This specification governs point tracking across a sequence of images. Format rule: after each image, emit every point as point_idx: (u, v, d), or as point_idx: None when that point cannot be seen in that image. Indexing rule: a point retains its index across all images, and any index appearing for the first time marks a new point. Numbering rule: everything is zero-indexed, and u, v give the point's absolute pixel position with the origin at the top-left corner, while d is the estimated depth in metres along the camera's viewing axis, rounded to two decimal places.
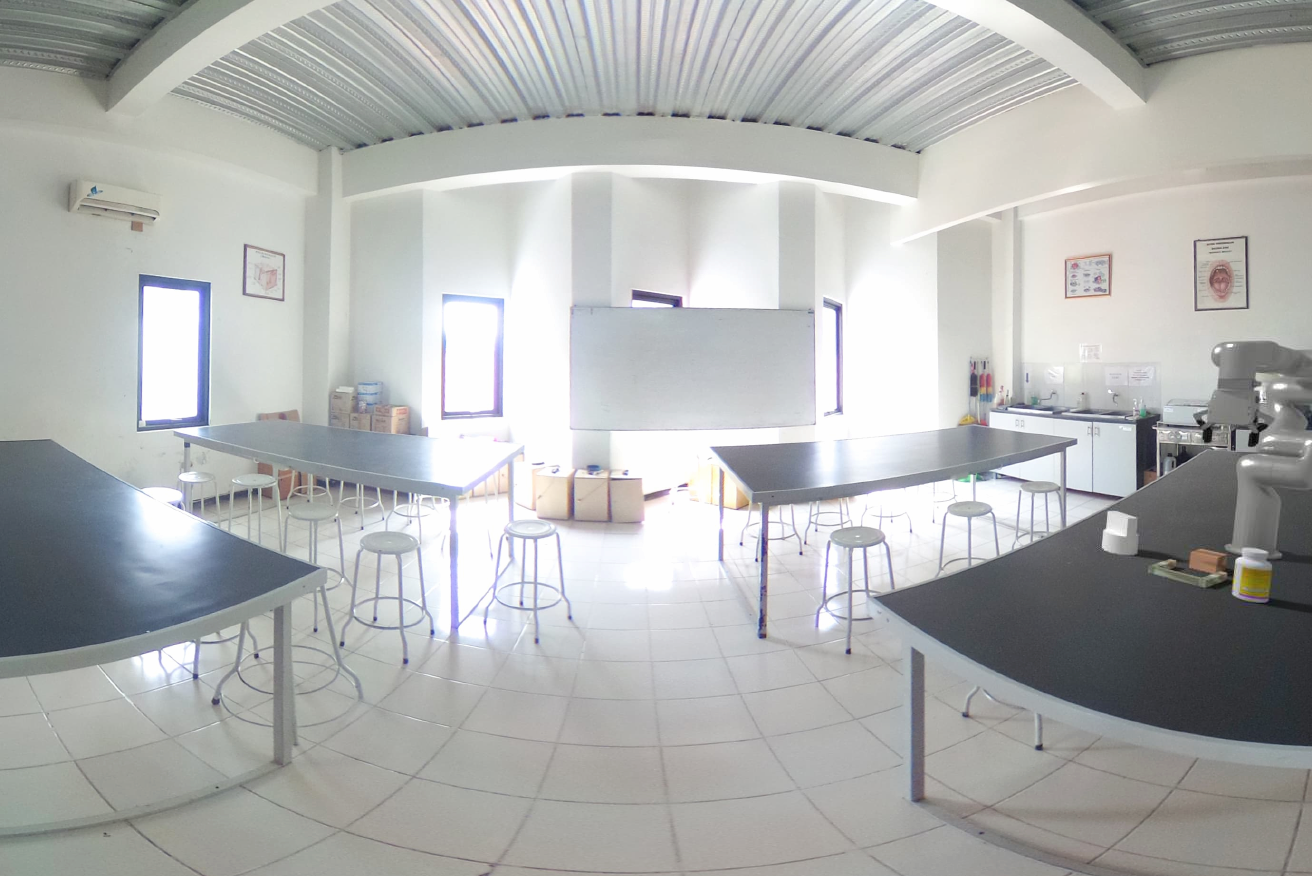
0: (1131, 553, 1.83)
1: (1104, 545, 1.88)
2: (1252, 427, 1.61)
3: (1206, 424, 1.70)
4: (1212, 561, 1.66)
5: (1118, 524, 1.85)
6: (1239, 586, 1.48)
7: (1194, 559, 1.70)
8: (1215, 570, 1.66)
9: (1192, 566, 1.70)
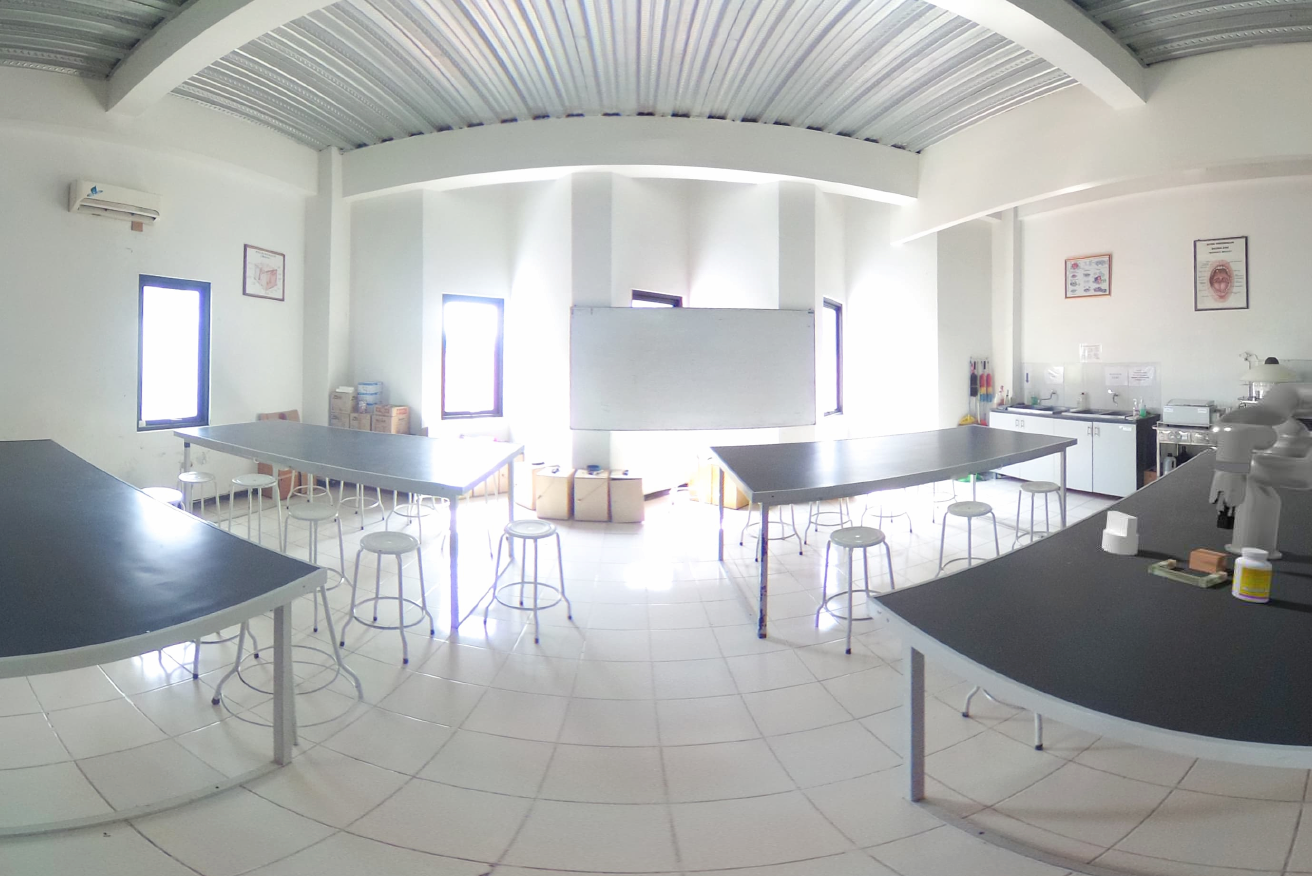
0: (1131, 553, 1.83)
1: (1104, 545, 1.88)
2: (1235, 510, 1.70)
3: (1230, 511, 1.69)
4: (1213, 561, 1.66)
5: (1118, 524, 1.85)
6: (1239, 586, 1.48)
7: (1194, 559, 1.70)
8: (1215, 570, 1.66)
9: (1192, 566, 1.70)
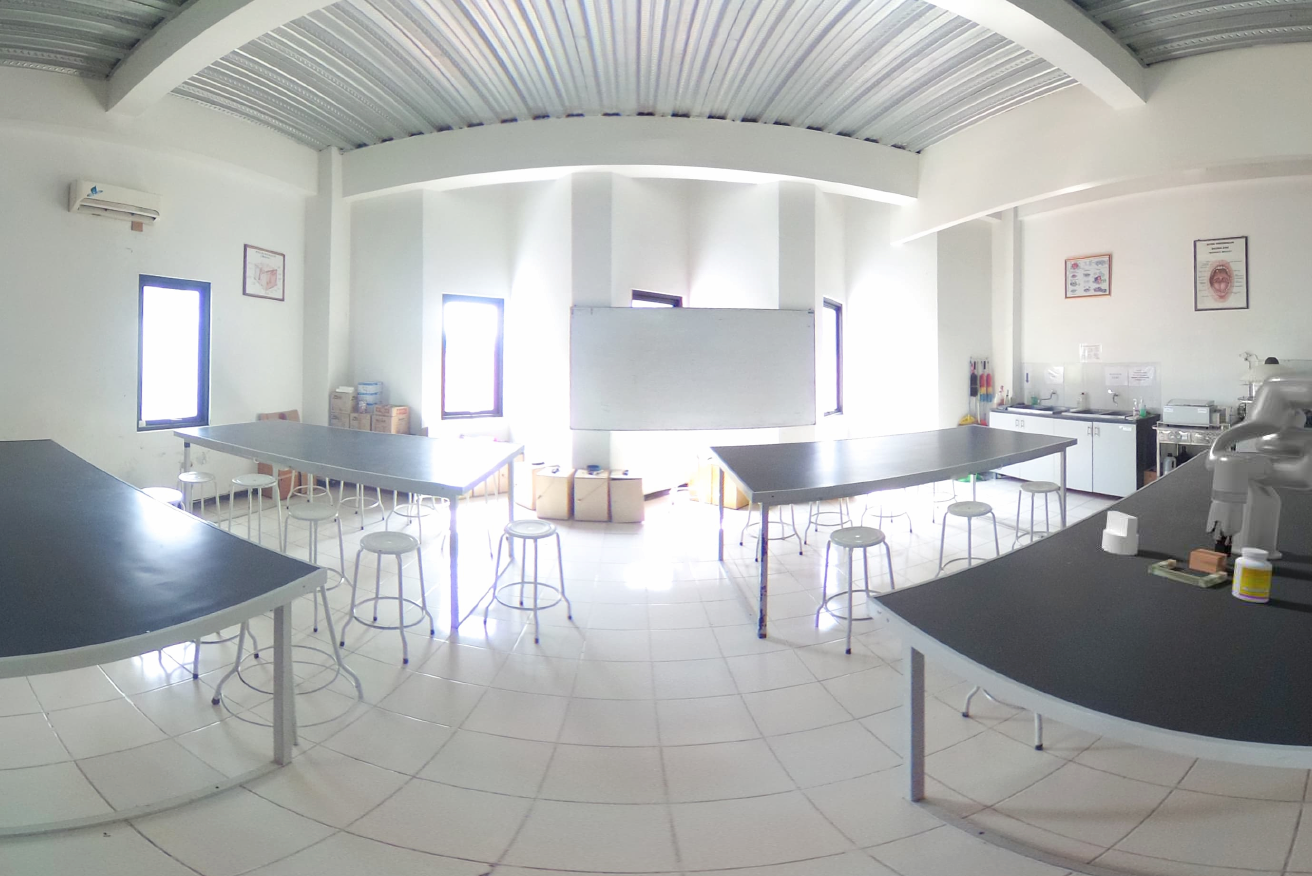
0: (1131, 553, 1.83)
1: (1104, 545, 1.88)
2: (1232, 538, 1.72)
3: (1227, 540, 1.70)
4: (1213, 561, 1.66)
5: (1118, 524, 1.85)
6: (1239, 586, 1.48)
7: (1194, 559, 1.70)
8: (1215, 570, 1.66)
9: (1192, 566, 1.70)
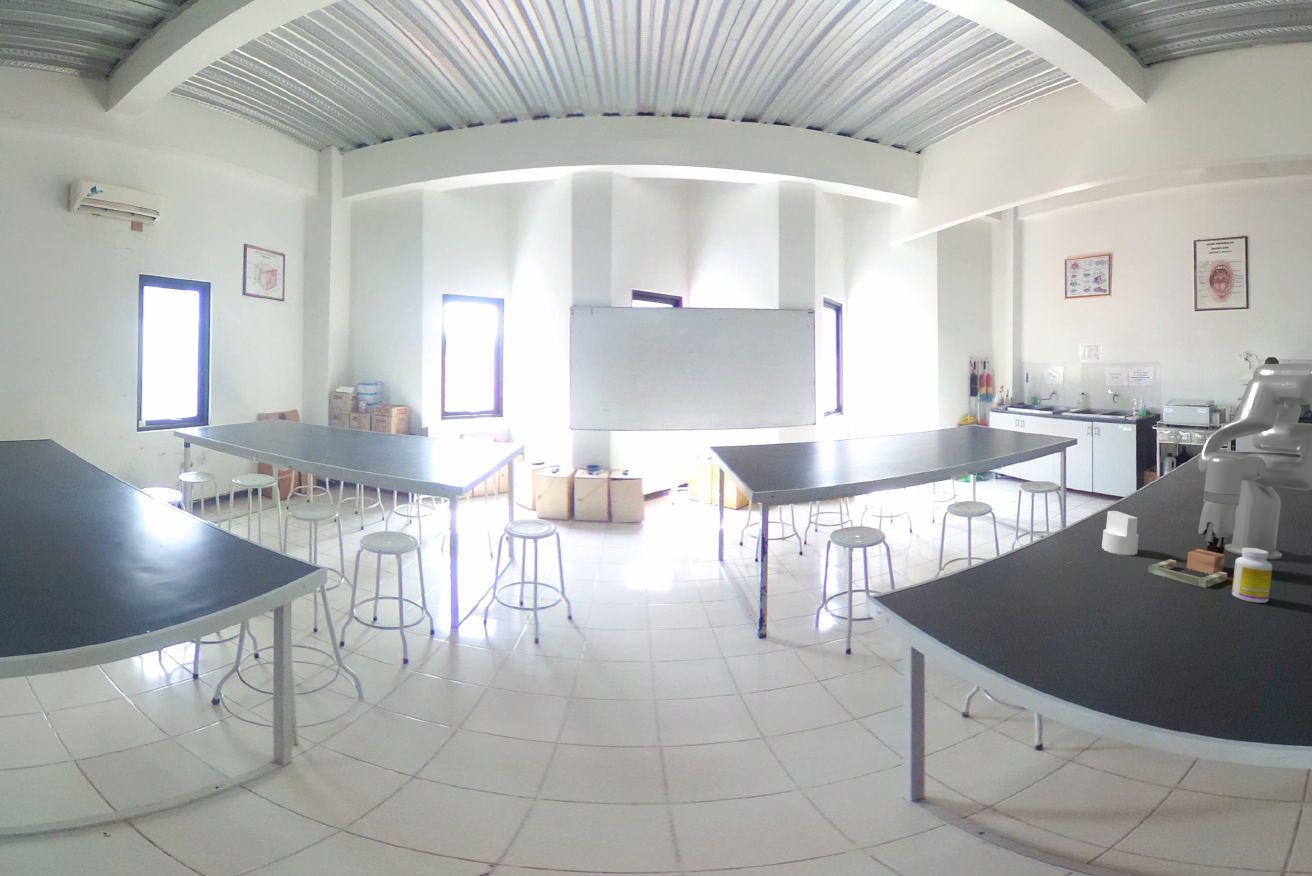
0: (1131, 553, 1.83)
1: (1104, 545, 1.88)
2: (1224, 540, 1.70)
3: (1219, 542, 1.68)
4: (1210, 561, 1.66)
5: (1118, 524, 1.85)
6: (1239, 586, 1.48)
7: (1191, 559, 1.69)
8: (1212, 570, 1.65)
9: (1189, 566, 1.70)
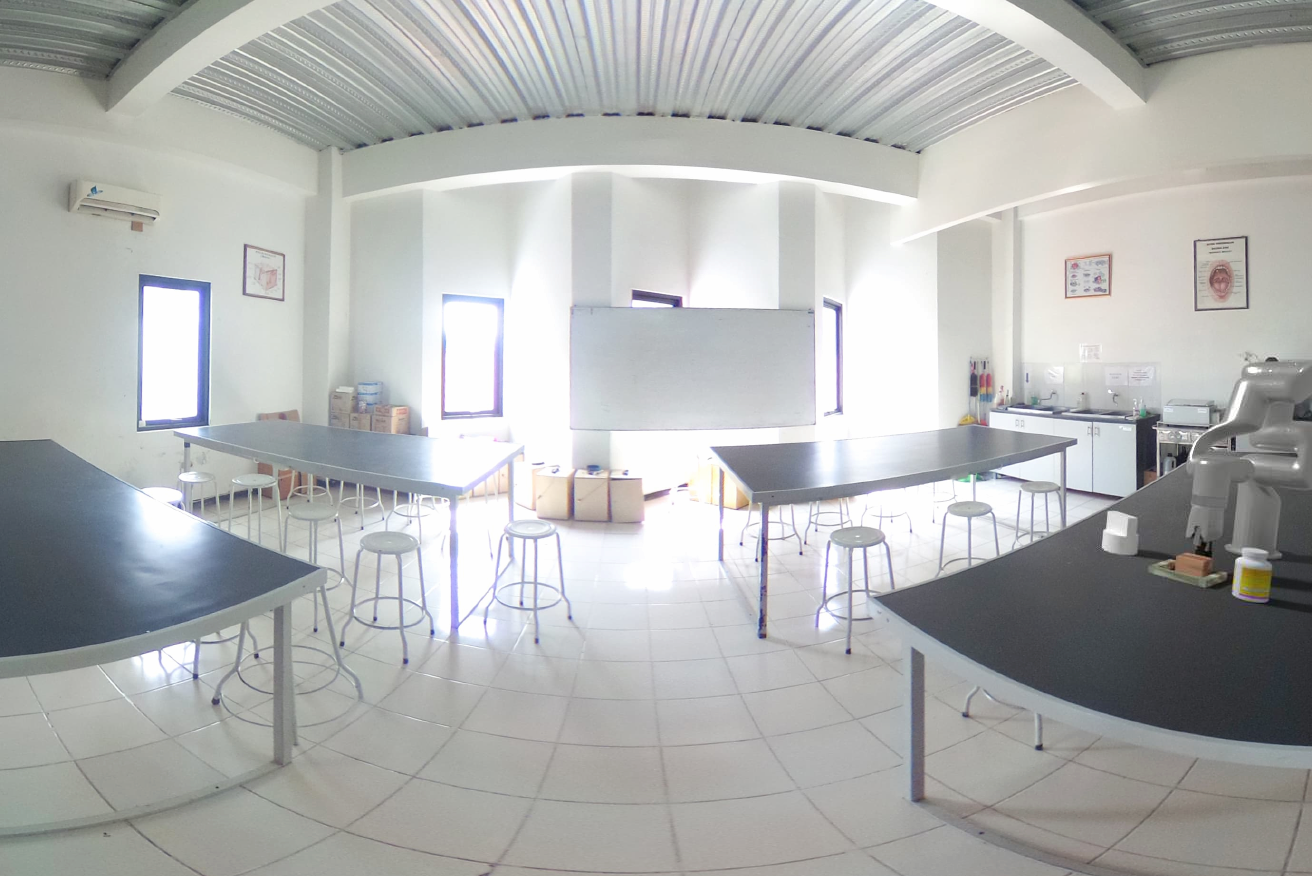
0: (1131, 553, 1.83)
1: (1104, 545, 1.88)
2: (1213, 544, 1.67)
3: (1207, 546, 1.65)
4: (1198, 566, 1.62)
5: (1118, 524, 1.85)
6: (1239, 586, 1.48)
7: (1180, 563, 1.66)
8: (1201, 575, 1.62)
9: (1178, 570, 1.67)
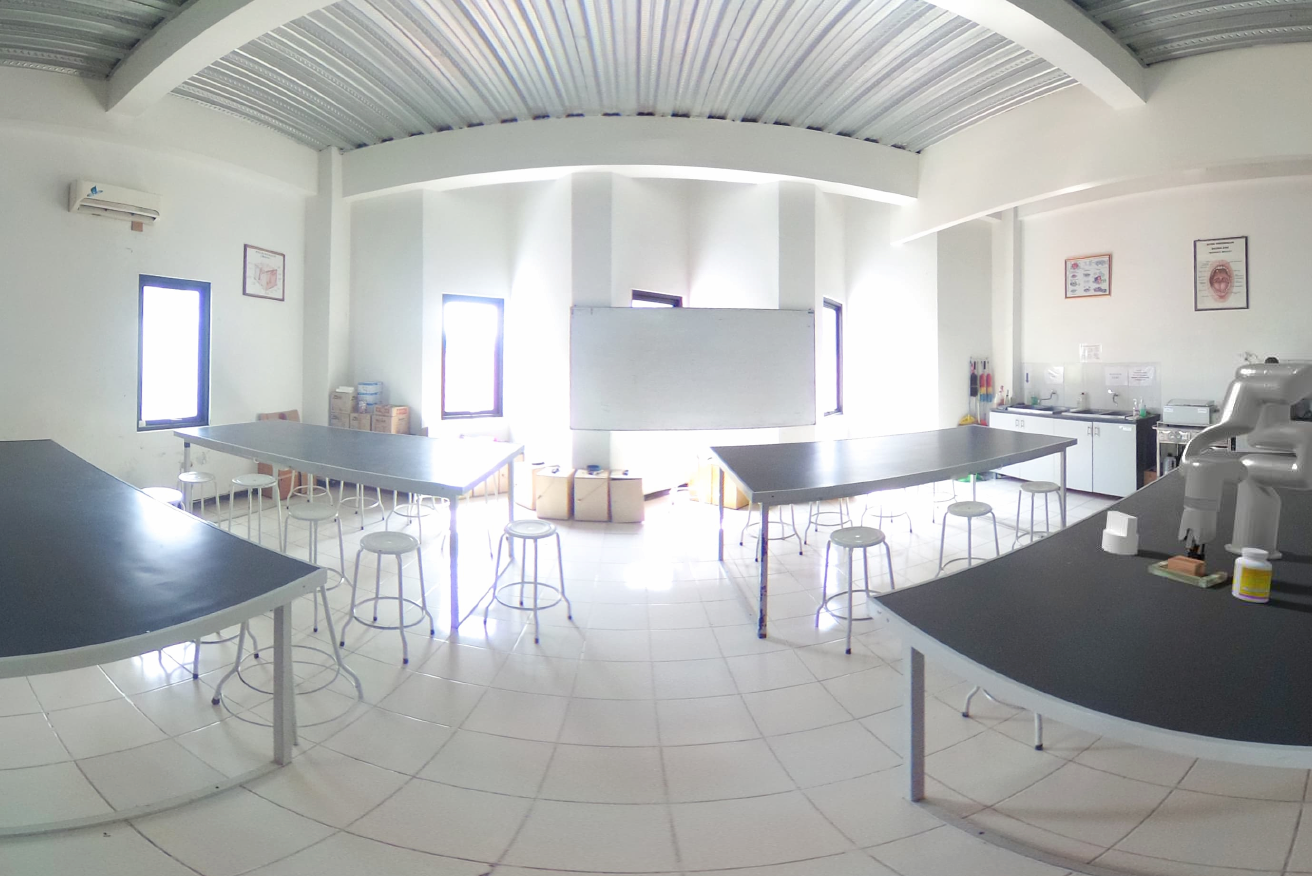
0: (1131, 553, 1.83)
1: (1104, 545, 1.88)
2: (1205, 547, 1.65)
3: (1200, 549, 1.64)
4: (1190, 569, 1.61)
5: (1118, 524, 1.85)
6: (1239, 586, 1.48)
7: (1172, 566, 1.64)
8: None
9: None
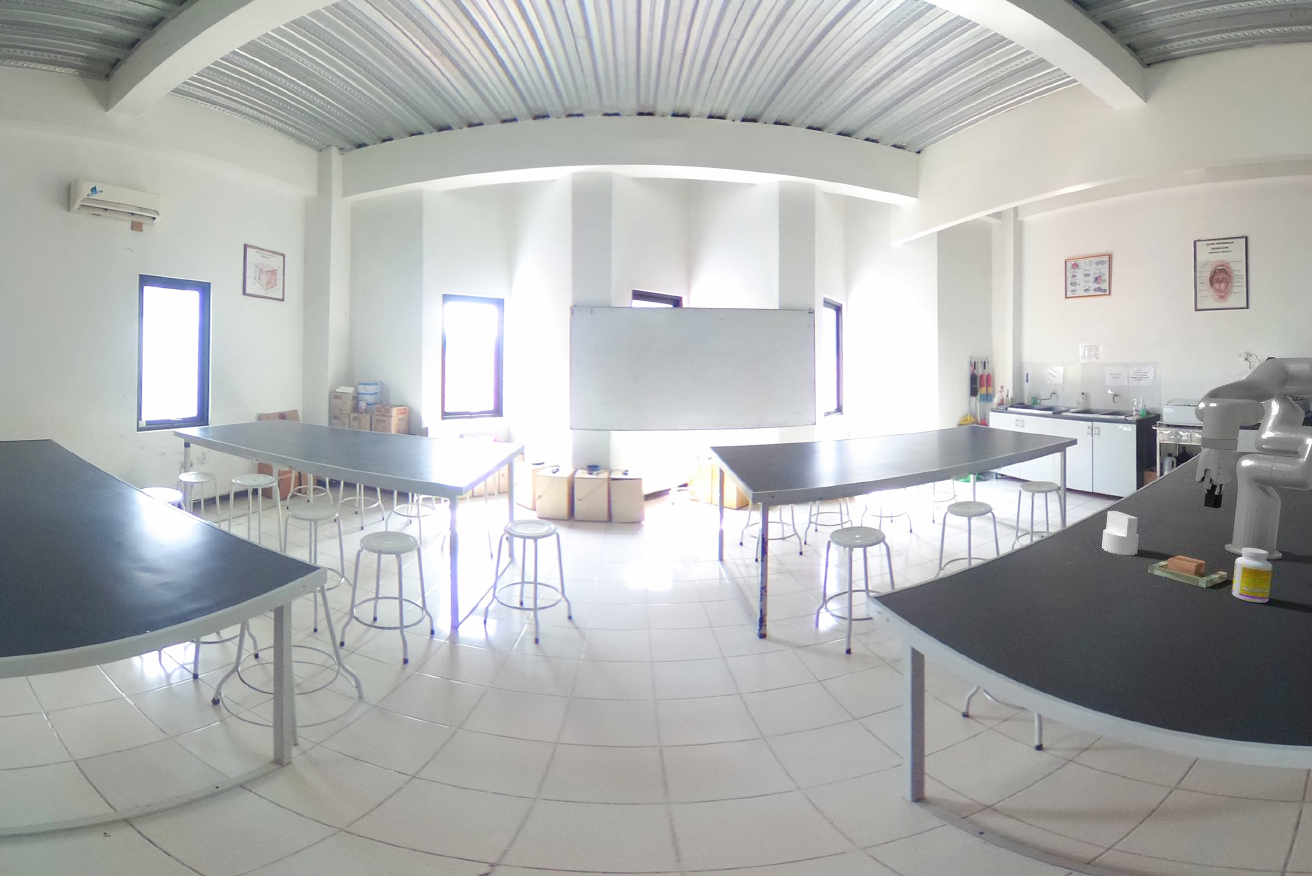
0: (1131, 553, 1.83)
1: (1104, 545, 1.87)
2: (1223, 488, 1.65)
3: (1217, 489, 1.64)
4: (1190, 569, 1.61)
5: (1118, 524, 1.85)
6: (1239, 586, 1.48)
7: (1172, 566, 1.64)
8: None
9: None
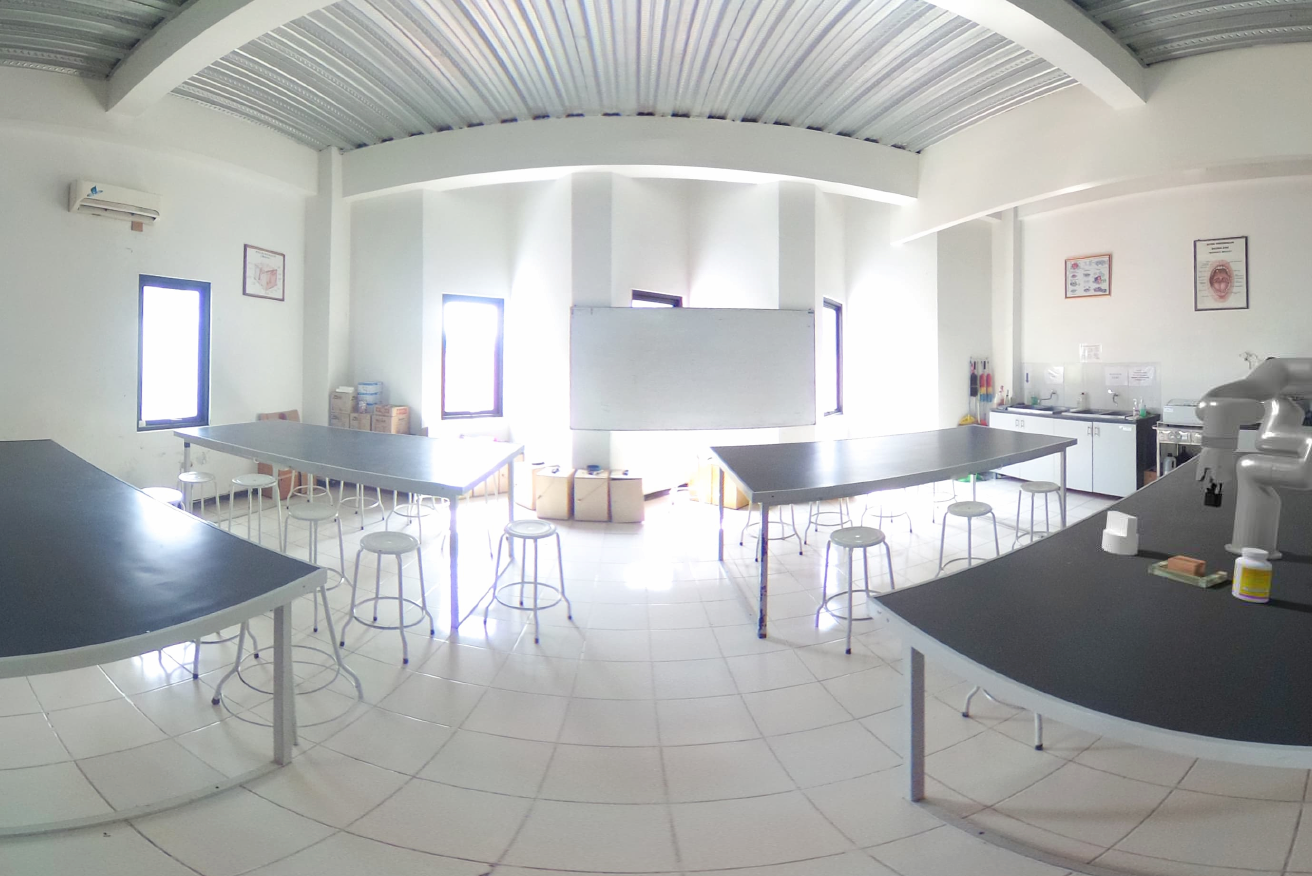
0: (1131, 553, 1.83)
1: (1104, 545, 1.88)
2: (1223, 487, 1.65)
3: (1217, 488, 1.64)
4: (1190, 569, 1.61)
5: (1118, 524, 1.85)
6: (1239, 586, 1.48)
7: (1171, 566, 1.64)
8: None
9: None
